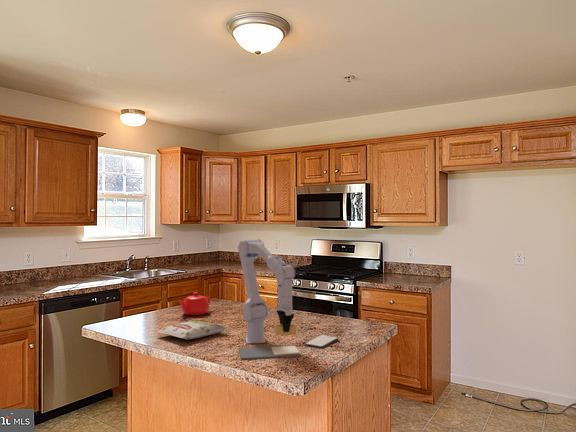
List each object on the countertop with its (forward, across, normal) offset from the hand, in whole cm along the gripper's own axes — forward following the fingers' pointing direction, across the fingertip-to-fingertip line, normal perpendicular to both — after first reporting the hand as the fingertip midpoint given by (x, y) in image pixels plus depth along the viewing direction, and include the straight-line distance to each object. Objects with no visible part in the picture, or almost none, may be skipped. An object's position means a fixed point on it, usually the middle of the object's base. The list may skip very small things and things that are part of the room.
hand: (285, 329), depth 168 cm
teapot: (+9, -77, -38) cm, 86 cm away
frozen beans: (+9, -31, -37) cm, 49 cm away
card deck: (+1, 0, 0) cm, 1 cm away
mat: (+9, 0, -6) cm, 11 cm away
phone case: (+9, -10, +18) cm, 23 cm away
